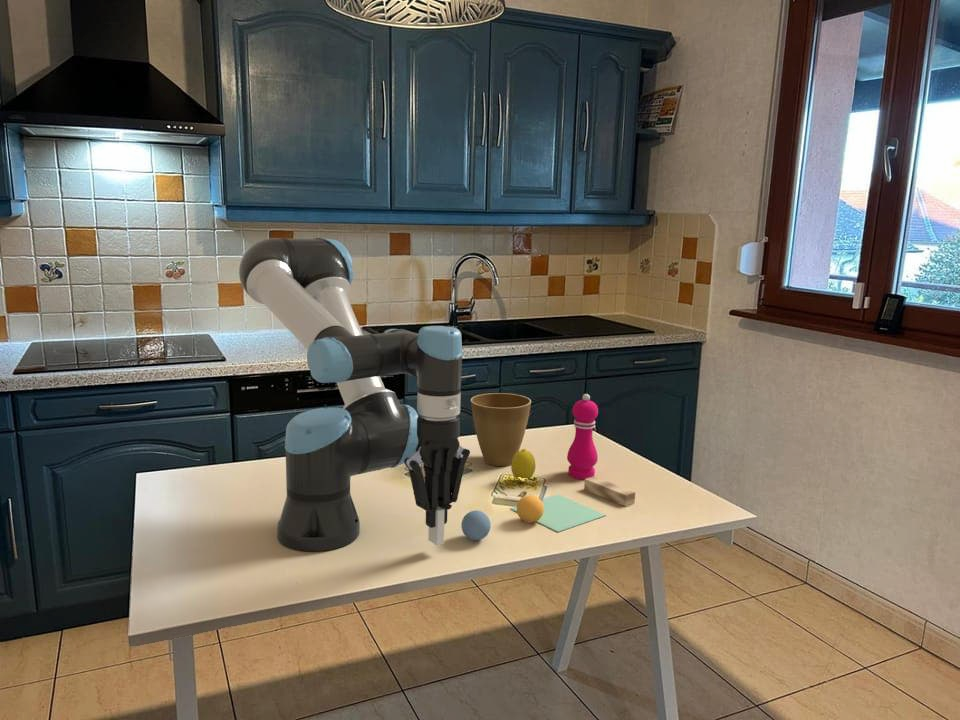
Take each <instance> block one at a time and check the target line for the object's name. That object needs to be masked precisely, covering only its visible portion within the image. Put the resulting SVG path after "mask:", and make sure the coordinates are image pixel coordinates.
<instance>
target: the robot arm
mask: <svg viewBox="0 0 960 720" xmlns="http://www.w3.org/2000/svg"><path fill="white" fill-rule="evenodd" d="M353 266H354V264H353V260H352V257H351V255H350V252H349V251H348V249H347V248H346V247H345V245H343V243H341V242H340V241H338V240H335V239H333V238H324V237H315V238H285V237H283V238H280V237H269V238H265V239H262V240H260V241H257V242H256V243H254V244H253V245H252V246H250V247H249V248H248V249H247V250H246V252H245V253H244V255H243V257H242V258H241V261H240V263H239V269H238V275H239V281H240V283H241V286H242V288H243V289H244V291H245V292H246V294H247V295H248V296H249V297H250V298H251V299H252V300H253V301H254V302H257V303H259V304H262V305H265V307H267V309H268V310H269V311H270V313H272V314H273V315H274V316H275V317H276V318H277V319H278V320H279V322H281V324H282V325H283V326H284V327H285V328H286V329H287V330H288V331H289V332H290V333H291V334H292V336H293V337H295V338H296V339H297V341H298V342H299V343H301V345H302V346H303V347H304V348H305V349H306V350H307V352H306V353H307V354H306V362H307V367H308V369H309V370H310V375H311V377H312V378H313V379H314V380H315V381H317V382H318V383H322V384H327V383H336V384H337V387H338V389H339V393H340V396H341V398H342V401H343V402H344V405H343V407H342V408H341V407H335V406H334V407H333V406H332V407H326V408H325V407H319V408H314V409H310V410H307V411H304V412H300V413H299V414H296V415H295V416H293V417H292V418H291V419H290V421H289V422H288V423H287V424H286V428H285V438H284V439H285V441H284V448H285V476H286V477H285V478H286V479H285V481H286V498H285V501H284V504H283V507H282V510H281V515H280V518H279V520H278V522H277V529H276V530H277V540H278V542H279V543H280V544H281V545H283V546H285V547H287V548H290V549H293V550H295V551H296V550H297V551H302V552H303V551H304V552H323V551H330V550H335V549H339V548H342V547H344V546H347V545H350V544H351V543H353V542H354V541H355V540H356V539H358V537H359V535H360V533H361V532H360V530H361V529H360V528H361V525H360V522H361V521H360V518H359V515H358V512H357V509H356V507H355V504H354V503H355V502H354V500H353V498H352V494H351V477H353V476H357V475H361V474H366V473H371V472H375V471H376V472H377V471H380V470H385V469H390V468H391V469H393V468H396V467H398V466H400V465H405V466H406V468H407V469H408V472H409V478H410V483H411V487H412V491H413V492H412V493H413V496H414V500H415V505H416V506H417V507H419V508H421V509H422V510H424V511H425V525H426V526H427V527H428V535H427V536H428V537H427V538H428V541H429V542H430V543H432V544H434V545H435V546H440V545H444V543H445V542H444V541H445V524H447V523H448V510H450V509H452V507H453V506H452V503H457V501H458V497H459V494H460V488H461V483H462V480H463V474H464V471H465V467H466V463H467V460H468V458H469V456H470V454H471V450H470V449H468V448H465V447H463V446H461V445H460V444H461V443H460V441H459V437H460V434H461V432H460V431H461V418H460V417H459V415H460V413H461V399H462V398H461V395H462V393H461V391H462V390H461V387H462V366H463V364H462V363H463V353H464V352H463V345H462V344H463V341H462V332H461V331H460V330H459V329H458V328H456V327H453V326H445V325H429V326H428V325H427V326H422V327H421V328H420V329H419V330H418V333H417V332H413V331H410V330H407V329H405V328H403V329H402V328H400V329H398V328H389V329H386V330H384V332H382V333H374V334H372V333H371V334H363V331H362V330H361V329H362V328H361V326H360V324H359V322H358V320H357V318H356V315H355V312H354V310H353V307H352V304H351V302H350V299H349V298H348V295H349V293H350V291H351V285H352V283H353V279H354V272H355V271H354V270H353ZM400 374H406V375H410V376H414V377H417V394H416V395H417V396H416V409H415V408H414V407H413V406H410V405H409V404H401V403H400V401H399V399H398V396H397V395H396V392H395V391H392V390H390V389H388V388H385V385H384V382H383V381H382V377H386V376H392V375H400ZM421 461H422V462H421ZM422 465H423V466H422ZM421 467H423V470H422V468H421ZM423 471H424V473H423Z"/></svg>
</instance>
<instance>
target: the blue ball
mask: <svg viewBox="0 0 960 720" xmlns="http://www.w3.org/2000/svg"><path fill="white" fill-rule="evenodd" d="M490 529H491V520H490V518H489V516H488V515H487V514H486V513H485V512H484V511H481V510H471V511H469V512H467V513H465V515H464V516H463V518H462V520H461V531H462V533H463V535H464V536H465V537H466V538H468V539H470V540H471V541H480V540H483V539H485V538H486V537H487V536H488V535H489V533H490Z"/></svg>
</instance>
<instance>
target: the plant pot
mask: <svg viewBox="0 0 960 720" xmlns="http://www.w3.org/2000/svg"><path fill="white" fill-rule="evenodd" d="M531 405H532V400H531V398H529V397H527V396H524V395H520V394H516V393H506V392H505V393H504V392H501V393H500V392H496V393H495V392H494V393H492V392H491V393H483V394H477V395H474V396H472V397H471V398H470V406H471V412H472V413H471V414H472V421H473V427H474V430H475V434H476V439H477V441H478V445H479V448H480V451H481V454H482V458H483V460H484V463H485V464H487V465H490V466H495V467H507V466H511V463H512V459H513V456H514V455H515V453H517V452H518V451H520V449H521V445H522V443H523V440H524V437H525V433H526V429H527V425H528V421H529V416H530V411H531Z"/></svg>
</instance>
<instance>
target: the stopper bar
mask: <svg viewBox="0 0 960 720" xmlns="http://www.w3.org/2000/svg"><path fill="white" fill-rule="evenodd" d="M583 487H584V488H583V489H584V491H587V492H590V493H591V494H595V496H596V495H597V496H599V497H602V498H604V499H606V500H609V501H612V502H614V503H616V504H619V505H622V506H623V507H628V506H631V505H635V499H636V492H635V491H632V490H630V489H627V488H624V487H622V486H619V485H617V484H614V483H612V482H610V481H607V480H604V479H602V478H599V477H596V476H595V475H594V476H593V477H590V478H587V479H584V485H583Z"/></svg>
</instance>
